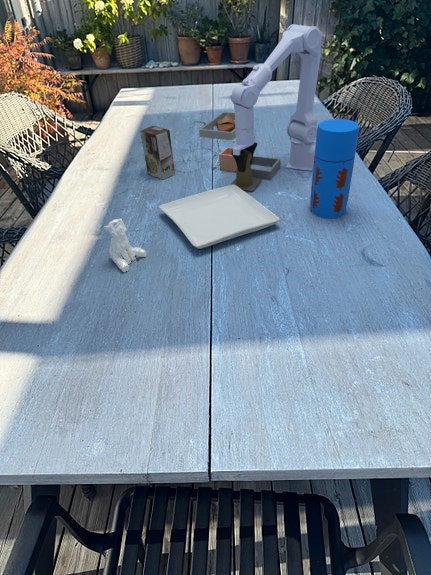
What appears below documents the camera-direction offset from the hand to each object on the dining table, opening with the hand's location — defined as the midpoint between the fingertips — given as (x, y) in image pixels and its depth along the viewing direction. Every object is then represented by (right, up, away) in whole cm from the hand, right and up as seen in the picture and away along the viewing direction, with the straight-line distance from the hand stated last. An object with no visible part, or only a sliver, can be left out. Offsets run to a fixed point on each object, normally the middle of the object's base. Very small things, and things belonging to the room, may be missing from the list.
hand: (244, 168), depth 137 cm
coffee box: (-30, +2, +15) cm, 34 cm away
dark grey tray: (-4, +32, +49) cm, 59 cm away
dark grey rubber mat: (0, -5, +4) cm, 6 cm away
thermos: (+24, -16, -12) cm, 32 cm away
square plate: (-9, -20, -13) cm, 26 cm away
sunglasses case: (-5, +32, +50) cm, 60 cm away
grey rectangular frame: (+6, +2, +12) cm, 13 cm away
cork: (0, -4, +4) cm, 6 cm away
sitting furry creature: (-34, -33, -27) cm, 54 cm away
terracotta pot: (-4, +5, +16) cm, 17 cm away
